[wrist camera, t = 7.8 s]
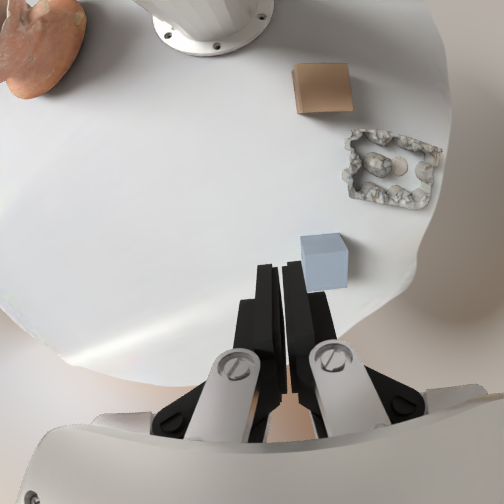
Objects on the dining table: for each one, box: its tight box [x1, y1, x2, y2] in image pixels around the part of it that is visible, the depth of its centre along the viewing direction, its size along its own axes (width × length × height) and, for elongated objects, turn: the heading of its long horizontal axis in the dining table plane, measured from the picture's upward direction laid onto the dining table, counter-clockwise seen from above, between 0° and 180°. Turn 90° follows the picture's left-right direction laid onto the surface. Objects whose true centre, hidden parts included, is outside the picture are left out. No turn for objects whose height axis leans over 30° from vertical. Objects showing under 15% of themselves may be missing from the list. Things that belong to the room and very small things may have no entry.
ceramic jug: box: [0, 0, 87, 99], centre depth 13 cm, size 18×14×14 cm
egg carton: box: [342, 129, 442, 210], centre depth 24 cm, size 11×8×4 cm
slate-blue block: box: [300, 233, 349, 292], centre depth 29 cm, size 4×4×4 cm
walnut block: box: [292, 63, 353, 114], centre depth 21 cm, size 4×4×4 cm
